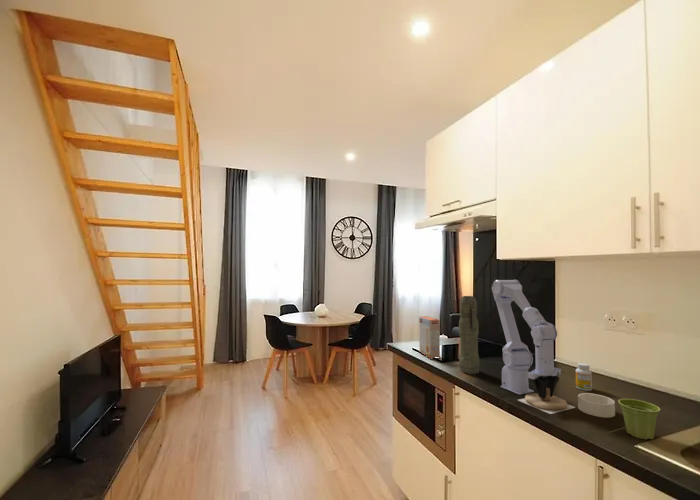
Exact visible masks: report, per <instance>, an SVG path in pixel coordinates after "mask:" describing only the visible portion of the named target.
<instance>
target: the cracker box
mask: <svg viewBox="0 0 700 500" xmlns="http://www.w3.org/2000/svg"><path fill="white" fill-rule="evenodd" d="M418 319H419V320H418V321H419V322H418V324H419V325H418V326H419V331H418V332H419V335H418V336H419V338H418V339H419V345H418V346H419V349H418V350H419V352H421V353H422V354H424V355H426V356H427V357H429V358H435V357H440V353H441V352H440V351H441V350H440V342H441V341H440V340H441V339H440V319H437V318H434V317H431V316H428V315H427V316H426V315H425V316H423V315H422V316H419V318H418ZM422 354H421V355H422ZM424 355H423V356H424ZM427 357H426V358H427ZM429 358H428V359H429ZM440 358H441V357H440Z"/></svg>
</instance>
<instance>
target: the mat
mask: <svg viewBox="0 0 700 500" xmlns="http://www.w3.org/2000/svg"><path fill="white" fill-rule="evenodd" d="M517 401H518V402H520V403H522V404H524V405H525V404H526V405H528V406H530V407H533V408H536V409H537V410H540V411H542V412H543V413H544V412H545V413H547V414H550V415H552V414H556V413H561V412H564V411H568V410H572V409H575V408H577V407H576V406H573V405H571V404H568V403H567V408H565V409H561V410H551V409H545V408H540V407H537V406H534V405H532V404H530V403H528V402H527V401H526V400H525V397H524V398H520V399H517Z"/></svg>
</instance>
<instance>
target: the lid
mask: <svg viewBox="0 0 700 500" xmlns="http://www.w3.org/2000/svg"><path fill="white" fill-rule="evenodd" d="M524 398H525V400H526V401H527V402H528V403H530V404H532V405H534V406H537V407H540V408H545V409H551V410H561V409H565V408H567V404H568V402H567V401H566V400H565V399H563V398H561V397H559V396H556V395H553V396H552V397H550V388H546V398H545V399H543V398H541V397H539V395H538V392H530V393H526V394H525V395H524Z"/></svg>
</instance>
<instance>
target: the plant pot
mask: <svg viewBox="0 0 700 500" xmlns="http://www.w3.org/2000/svg"><path fill="white" fill-rule="evenodd" d="M617 402H618V404H619V407H620V409H621V412H622V416H623V421H624V426H625V430H626V431H625V432H626V433H627V434H629V435H631V436H632V437H635V438H637V439H641V440H648V439H649V440H653V439H655V433H656V432H655V429H656V423H657V418H658V415H659V413H660V412H661V408H660V407H659V406H657V405H655V404H653V403H651V402H647V401H644V400H640V399H632V398H621V399H618V400H617Z"/></svg>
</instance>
